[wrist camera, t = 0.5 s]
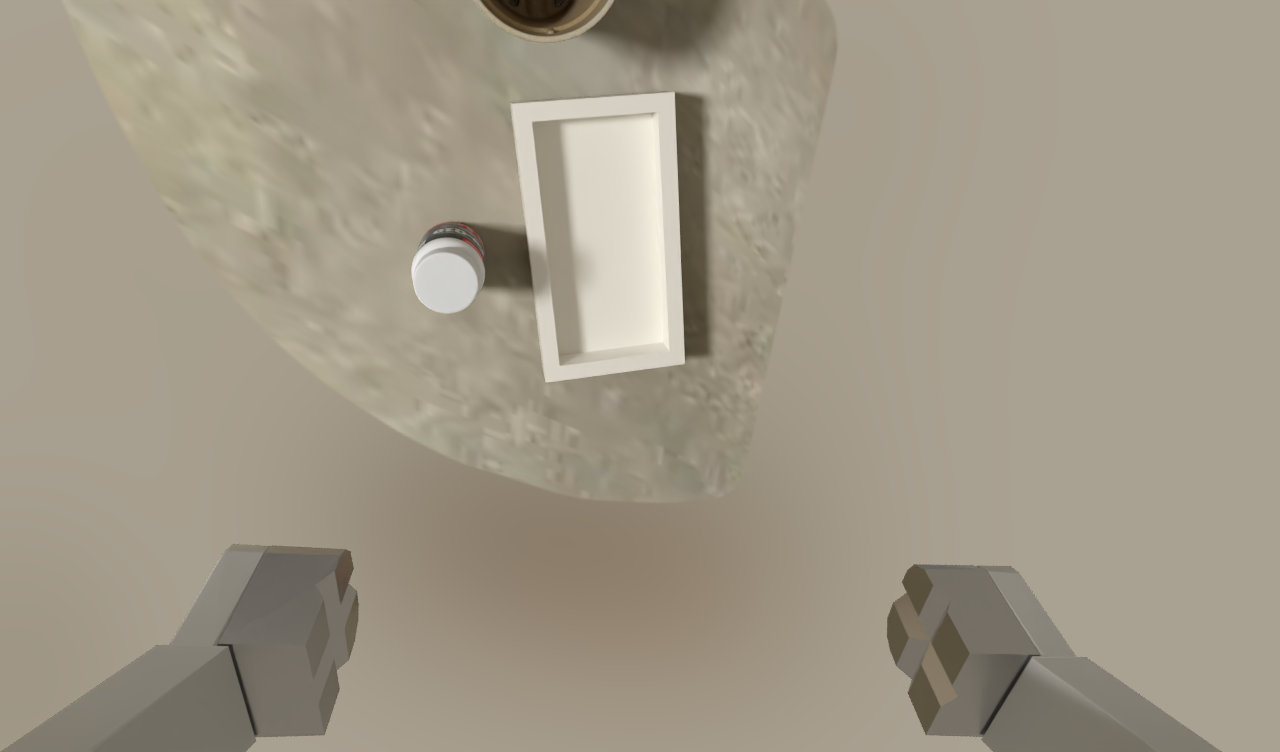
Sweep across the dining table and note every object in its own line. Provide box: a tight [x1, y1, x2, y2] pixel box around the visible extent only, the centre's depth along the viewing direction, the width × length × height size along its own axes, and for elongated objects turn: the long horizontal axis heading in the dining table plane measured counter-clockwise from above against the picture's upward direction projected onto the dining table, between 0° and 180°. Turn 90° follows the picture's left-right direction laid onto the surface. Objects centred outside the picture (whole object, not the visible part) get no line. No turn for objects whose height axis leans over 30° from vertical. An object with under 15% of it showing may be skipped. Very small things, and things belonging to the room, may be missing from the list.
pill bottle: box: [411, 222, 486, 313], centre depth 49 cm, size 5×5×8 cm
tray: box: [510, 91, 685, 382], centre depth 53 cm, size 20×11×3 cm, turn 3°
